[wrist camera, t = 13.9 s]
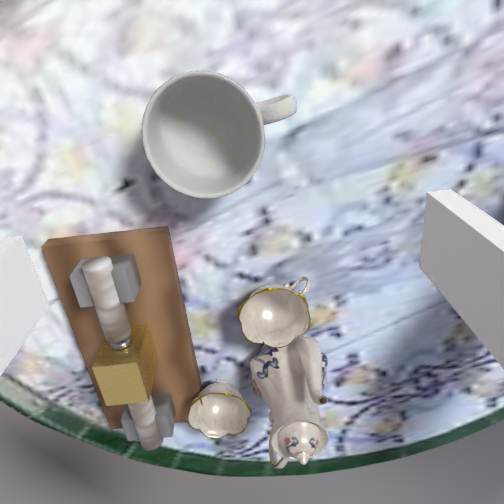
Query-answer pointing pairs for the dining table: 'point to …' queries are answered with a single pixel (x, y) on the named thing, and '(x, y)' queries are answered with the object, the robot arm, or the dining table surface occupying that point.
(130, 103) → the dining table surface
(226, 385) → the chinaware
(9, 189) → the dining table surface
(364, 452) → the dining table surface
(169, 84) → the teacup
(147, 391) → the block
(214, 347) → the dining table surface
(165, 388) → the rig
